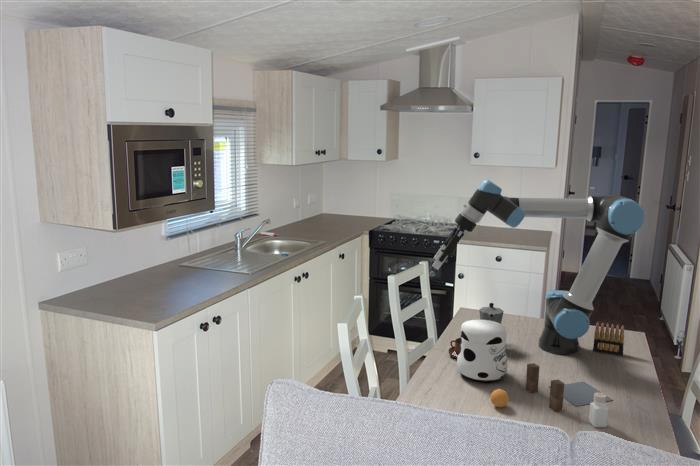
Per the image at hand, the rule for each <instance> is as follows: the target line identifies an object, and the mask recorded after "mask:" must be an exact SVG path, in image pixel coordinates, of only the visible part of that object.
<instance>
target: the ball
mask: <svg viewBox="0 0 700 466" xmlns="http://www.w3.org/2000/svg"><path fill="white" fill-rule="evenodd" d="M490 401H491V403H492V405H493V406H495V407H497V408H504V407H506V406H507V405H508V404H509V401H510V398H509V394H508V393H507V391H505V390H504V389H501V388H497V389H494V390H492V392H491V393H490Z"/></svg>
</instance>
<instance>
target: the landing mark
mask: <svg viewBox="0 0 700 466" xmlns="http://www.w3.org/2000/svg"><path fill="white" fill-rule="evenodd" d="M548 388H549V389H550V386H548ZM597 392H599V393H602V392H601V391H600V390H598V389H596V388H595V387H593V386H592V385H590V384H589V383H588V382H586V381H585V380H584V381H578V382H572V383H571V382H570V383H564V394H563V399H564V400H566V401H567V402H569V403H570V404H572V405H573V406H574V407H576V408H577V407H581V406H590V403H592V402H594V393H597ZM612 401H614V399H612V398H610V397H609V396H607V395H606V402H607V403H608V402H612ZM606 402H605V403H606Z"/></svg>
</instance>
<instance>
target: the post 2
mask: <svg viewBox="0 0 700 466" xmlns="http://www.w3.org/2000/svg"><path fill="white" fill-rule="evenodd" d="M564 384H565V383H564V382H563V381H562V380H560V379H552V380H550V385H549V387H550V388H549V401H548V402H549V403H548V408H549V409H550V410H552V411H553V412H560V411H563V405H564V398H563V394H564Z"/></svg>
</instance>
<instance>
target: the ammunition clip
mask: <svg viewBox="0 0 700 466" xmlns="http://www.w3.org/2000/svg"><path fill="white" fill-rule="evenodd" d="M593 337H594V338H593V347H592V352H595V353H602V354H607V355H615V356H624V345H625V326H624V325H623V324H622V326H621V327H620V325H619V324H617V325H616V327H615V326H614V323H612V324H611V326H610V324H609V322H608V323H606V326H605V323H604V322H602V323H601V324H600V323H599V321H597V322H596V324H595V331H594V336H593Z"/></svg>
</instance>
